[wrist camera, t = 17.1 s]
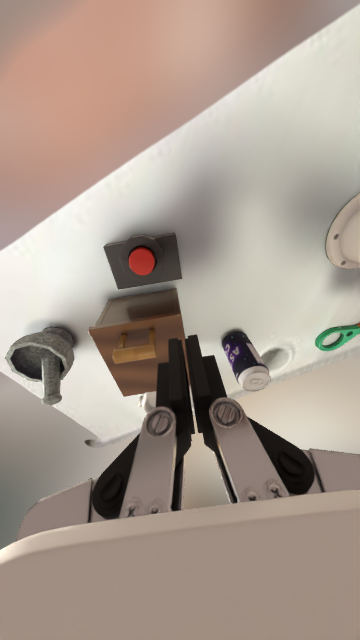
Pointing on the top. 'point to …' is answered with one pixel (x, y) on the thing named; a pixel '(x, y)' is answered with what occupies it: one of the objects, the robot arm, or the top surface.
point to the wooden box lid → (138, 349)
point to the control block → (162, 251)
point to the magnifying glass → (344, 338)
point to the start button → (142, 261)
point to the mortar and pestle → (43, 360)
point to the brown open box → (140, 306)
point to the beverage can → (245, 362)
